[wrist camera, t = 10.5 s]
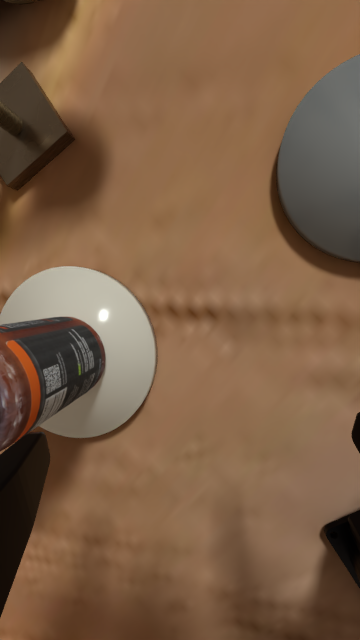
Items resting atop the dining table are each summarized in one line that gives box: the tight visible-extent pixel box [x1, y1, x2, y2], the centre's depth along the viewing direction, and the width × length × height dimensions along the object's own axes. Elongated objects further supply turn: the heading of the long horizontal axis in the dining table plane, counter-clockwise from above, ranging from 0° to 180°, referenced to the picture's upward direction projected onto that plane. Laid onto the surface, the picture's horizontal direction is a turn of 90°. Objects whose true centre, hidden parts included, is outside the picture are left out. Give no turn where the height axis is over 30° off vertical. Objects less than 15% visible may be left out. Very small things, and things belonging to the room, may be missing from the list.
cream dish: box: [0, 266, 157, 438], centre depth 21 cm, size 13×13×1 cm
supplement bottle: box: [0, 317, 106, 451], centre depth 15 cm, size 6×6×11 cm
